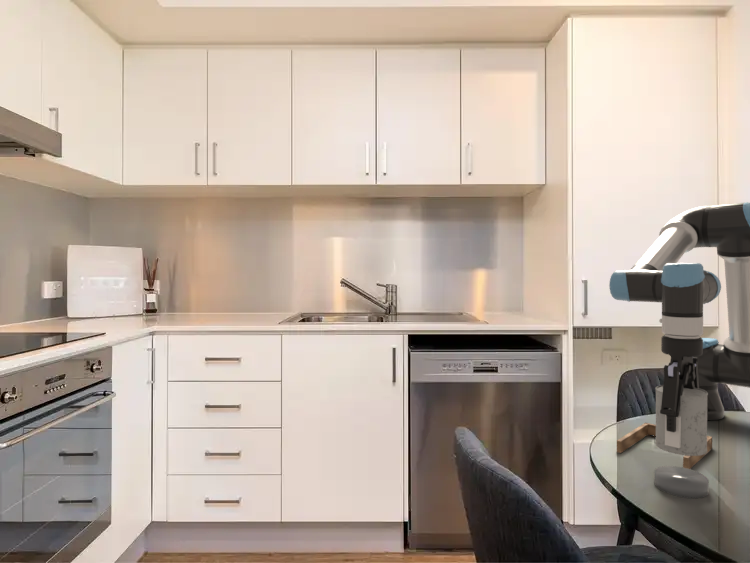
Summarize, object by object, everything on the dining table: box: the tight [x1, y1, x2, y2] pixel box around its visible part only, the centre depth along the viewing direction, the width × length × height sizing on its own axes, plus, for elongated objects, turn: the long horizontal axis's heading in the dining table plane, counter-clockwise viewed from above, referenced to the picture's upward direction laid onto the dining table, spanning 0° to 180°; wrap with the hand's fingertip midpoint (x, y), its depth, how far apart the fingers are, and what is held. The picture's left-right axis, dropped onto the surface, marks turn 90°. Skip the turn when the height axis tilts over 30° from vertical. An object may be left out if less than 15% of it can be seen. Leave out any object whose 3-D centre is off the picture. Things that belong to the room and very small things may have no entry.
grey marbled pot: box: [654, 384, 708, 456], centre depth 108 cm, size 10×10×12 cm
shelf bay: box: [616, 422, 713, 470], centre depth 128 cm, size 19×16×3 cm
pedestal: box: [653, 465, 710, 499], centre depth 108 cm, size 10×10×2 cm
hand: (680, 439), depth 108 cm, fingers closed on grey marbled pot, 9 cm apart
